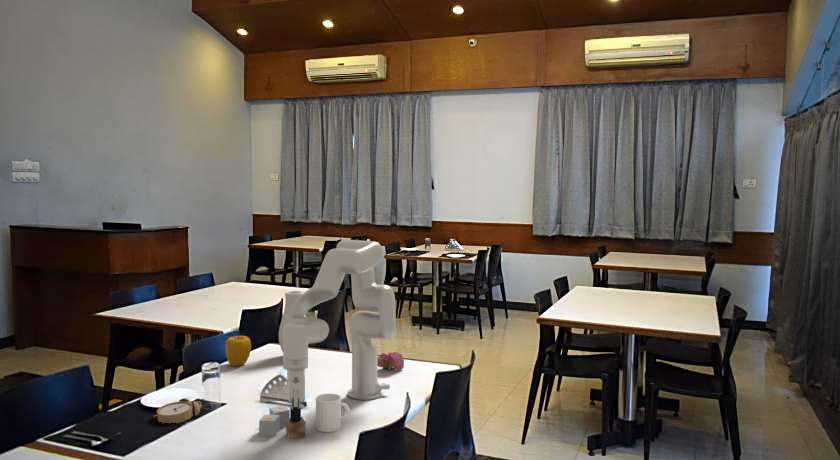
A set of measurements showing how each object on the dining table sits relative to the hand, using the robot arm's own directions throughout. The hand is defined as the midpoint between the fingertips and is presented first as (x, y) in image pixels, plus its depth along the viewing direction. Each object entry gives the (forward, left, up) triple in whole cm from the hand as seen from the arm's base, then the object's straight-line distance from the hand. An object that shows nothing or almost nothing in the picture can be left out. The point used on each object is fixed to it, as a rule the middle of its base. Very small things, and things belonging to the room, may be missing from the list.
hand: (295, 420), depth 188 cm
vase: (-1, -90, -5) cm, 90 cm away
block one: (+8, -4, -5) cm, 10 cm away
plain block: (0, 0, -5) cm, 5 cm away
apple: (+23, -82, -5) cm, 85 cm away
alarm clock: (+38, -24, -6) cm, 45 cm away
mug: (-12, -4, -5) cm, 14 cm away
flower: (-41, -63, -5) cm, 75 cm away
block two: (+5, -11, -5) cm, 13 cm away
